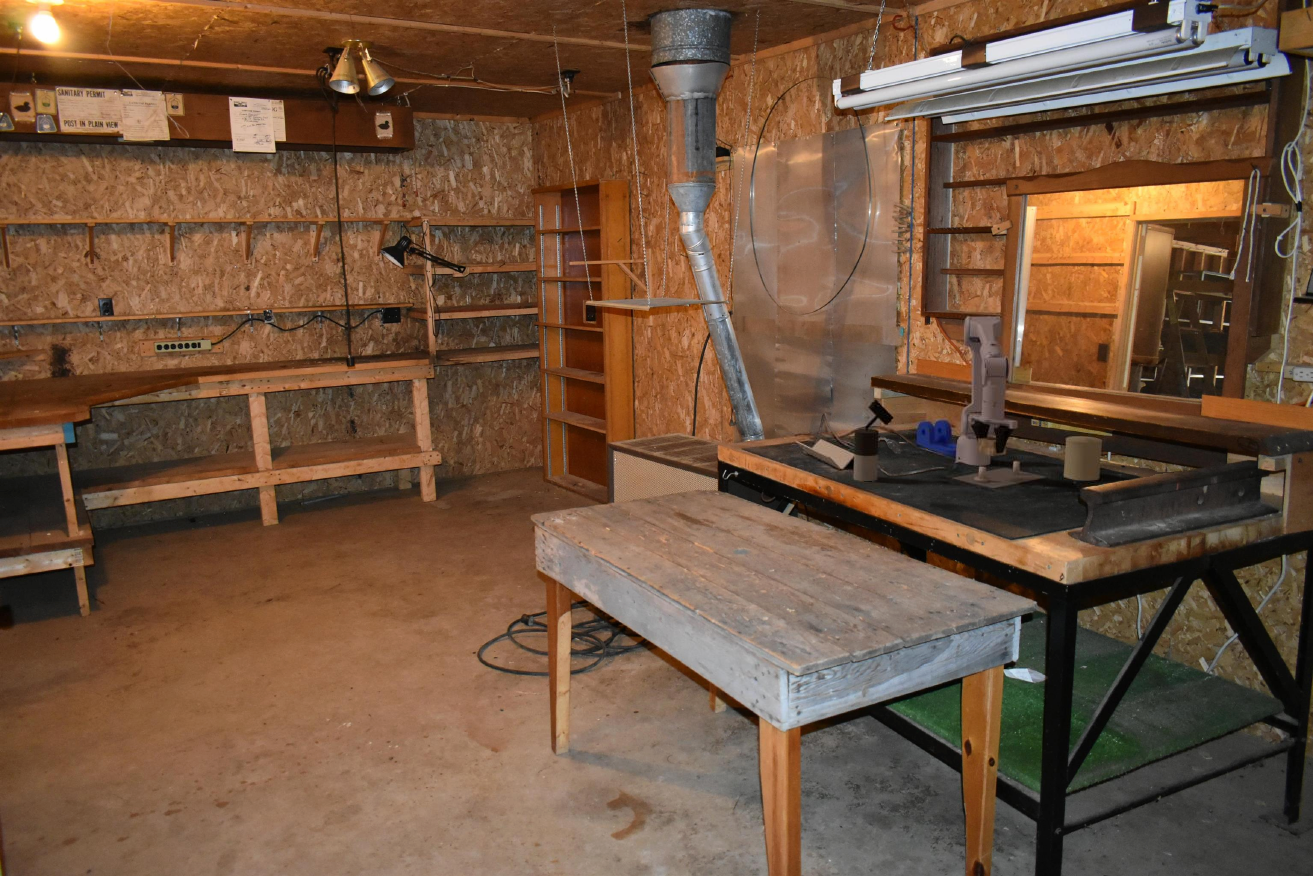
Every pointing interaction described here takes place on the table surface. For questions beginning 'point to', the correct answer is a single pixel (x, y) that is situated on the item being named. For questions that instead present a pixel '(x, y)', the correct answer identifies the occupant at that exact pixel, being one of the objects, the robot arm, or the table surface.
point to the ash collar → (988, 446)
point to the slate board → (998, 477)
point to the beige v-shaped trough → (829, 453)
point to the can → (1082, 458)
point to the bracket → (936, 437)
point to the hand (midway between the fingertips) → (990, 451)
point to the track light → (869, 445)
